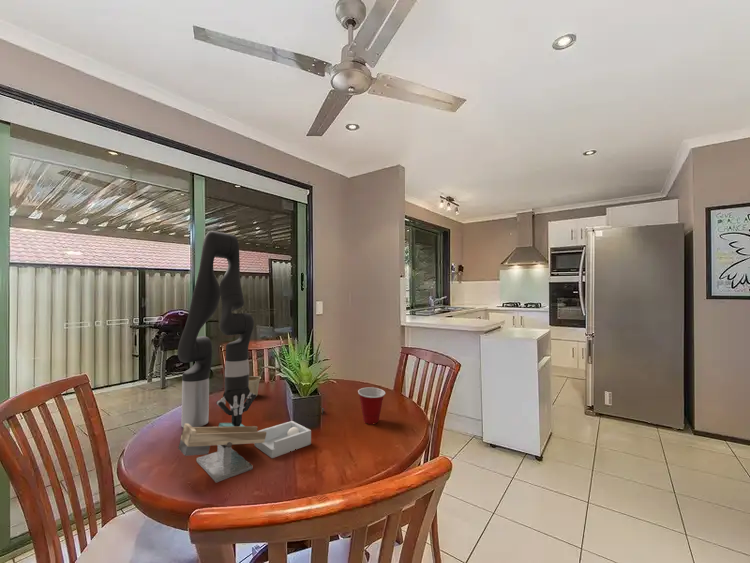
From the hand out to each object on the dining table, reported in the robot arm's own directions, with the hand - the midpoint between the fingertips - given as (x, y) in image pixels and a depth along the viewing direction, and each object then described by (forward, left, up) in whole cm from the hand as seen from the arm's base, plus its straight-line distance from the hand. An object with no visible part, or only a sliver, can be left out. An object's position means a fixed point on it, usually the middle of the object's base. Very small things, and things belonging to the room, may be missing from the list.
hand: (236, 425), depth 112 cm
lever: (+5, -9, -2) cm, 10 cm away
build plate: (-8, +37, -7) cm, 38 cm away
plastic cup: (+17, +46, -6) cm, 49 cm away
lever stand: (+11, -8, -6) cm, 15 cm away
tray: (+11, +11, -6) cm, 17 cm away
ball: (+11, +15, -4) cm, 19 cm away
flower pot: (-49, +27, -6) cm, 56 cm away
